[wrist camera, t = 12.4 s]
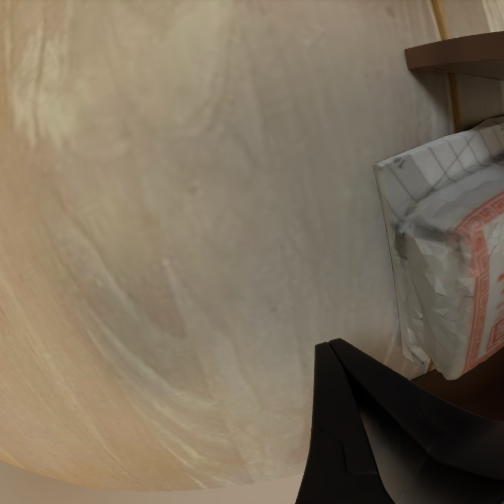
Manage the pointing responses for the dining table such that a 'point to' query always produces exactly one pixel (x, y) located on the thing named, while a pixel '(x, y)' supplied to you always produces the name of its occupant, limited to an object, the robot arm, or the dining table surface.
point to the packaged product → (448, 246)
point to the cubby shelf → (500, 363)
